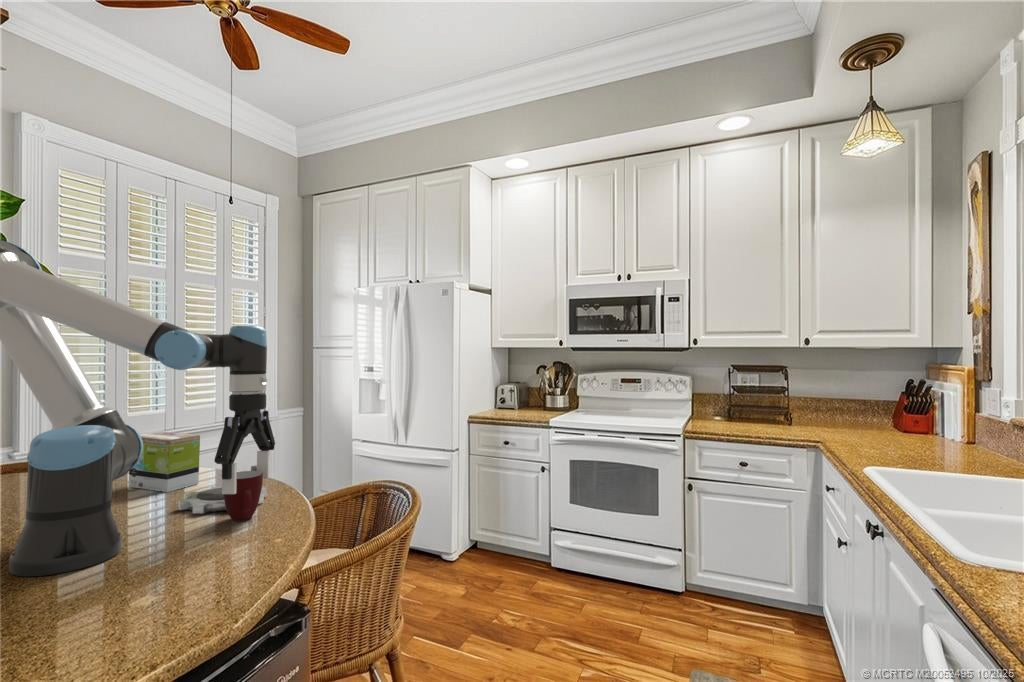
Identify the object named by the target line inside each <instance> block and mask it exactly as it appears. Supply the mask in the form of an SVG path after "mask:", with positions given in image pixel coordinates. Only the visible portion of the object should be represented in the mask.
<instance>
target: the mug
mask: <svg viewBox="0 0 1024 682" xmlns="http://www.w3.org/2000/svg"><path fill="white" fill-rule="evenodd" d="M263 483H264V478H263V473H262V472H259V471H251V470H244V471H237V480H236V494H224V500H225V506H226V510H227V511H226V510H225V511H226V512H227V514H228V516H229V517H230V519H231V520H232V521H233V522H242V521H243V522H244V521H248V520H250V519H252V517H253V516H254V514H255V512H256V510H257V509H258V507H259V504H260V503H259V499H260V494H261V490H262V487H263ZM258 503H259V504H258Z"/></svg>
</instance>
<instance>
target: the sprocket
mask: <svg viewBox="0 0 1024 682" xmlns="http://www.w3.org/2000/svg"><path fill="white" fill-rule="evenodd" d="M250 471H257V464H256V465H251V466H250ZM267 494H268V488H267V487H265V486H262V490H261V494H260V499H259V503H258V505H260V504H261V503H263V502H265V497H267ZM177 502H178V504H177V505H178V506H177V507H178V510H179V511H185V510H189V511H192V514H202V515H203V514H205V513H208V512H221V511H226V512H227V510H226V506H225V500H224V494H222V485H216V486H212V487H210V488H207V489H203V490H199V491H190V492H187V493H185V494H184V498H182V499H180V498H179V499H178V500H177Z"/></svg>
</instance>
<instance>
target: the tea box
mask: <svg viewBox="0 0 1024 682" xmlns="http://www.w3.org/2000/svg"><path fill="white" fill-rule="evenodd" d="M140 436H141V438H142V441H143V451H142V455H141V457H140V459H139V461H138V462H137V463H136V465H135V466H134V467H133V468H132V469H131V470H130V471H129V472H128V488H135V489H142V490H143V489H144V490H148V491H149V490H150V491H154V490H155V491H156V492H160V491H162V493H166V492H167V493H170V492H169V491H171V492H174V491H173V490H175V491H178V490H177V489H179V490H182V489H185V488H184V487H186V488H189V487H188V486H190V487H192V486H191V485H193V486H196V485H198V484H199V479H200V478H199V476H200V475H199V472H200V452H201V451H200V450H201V449H200V447H201V434H195V433H193V434H192V433H184V432H183V433H181V432H171V431H159V432H150V433H145V434H140ZM195 484H196V485H195ZM181 488H182V489H181Z"/></svg>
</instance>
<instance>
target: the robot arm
mask: <svg viewBox="0 0 1024 682" xmlns="http://www.w3.org/2000/svg"><path fill="white" fill-rule="evenodd" d="M55 322H56V323H58V324H61V325H63V326H66V327H69V328H71V329H74V330H77V331H79V332H82V333H83V334H84V333H85V334H87V335H90V336H93V337H94V338H97V339H100V340H103V341H106V342H108V343H111V344H114V345H116V346H118V347H121V348H123V349H127V350H129V351H132V352H134V353H136V354H140V355H143V356H145V357H147V358H150V359H152V360H155V361H158V362H160V364H162V365H164V366H165V367H167V368H170V369H173V370H177V371H184V370H191V369H201V368H202V369H204V368H206V369H207V368H208V369H209V368H229V385H228V388H229V389H228V392H229V393H230V395H229V396H228V397H229V399H228V401H229V402H228V403H229V404H228V405H229V406H228V408H229V410H230V411H232V412H234V416H226V417H225V418H224V423H223V425H224V426H223V430H222V432H221V433H222V434H221V436H220V440H219V443H218V447H217V449H216V450H217V451H216V453H215V456H214V459H213V460H214V463H216V464H217V465H221V486H222V494H236V480H237V472H238V469H237V468H238V467H237V466H238V465H237V464H238V462H235V460H236V458H237V456H238V454H239V452H240V449H241V446H242V444H243V443H244V440H245V438H246V437H248V435H251V437H252V438H253V440H254V442H255V444H256V447H258V449H259V450H258V451H256V465H257V471H259V472H262V473H263V479H269V478H270V459H271V458H270V456H271V455H270V453H271V452H270V451H274V450H275V445H276V441H275V437H274V434H273V430H272V426H271V422H270V420H269V419H270V418H269V416H270V415H269V413H270V412H269V410H265V409H266V408H267V394H266V393H265V391H266V390H267V382H268V378H267V365H268V364H267V360H268V358H267V356H268V345H267V331H266V328H264V327H262V326H260V325H259V326H258V325H234V326H233V325H232V326H231V327H230V329H229V330H230V331H229V333H225V334H212V333H211V334H208V333H205V334H203V333H196V332H193V331H191V330H187V329H184V328H182V327H180V326H177V325H176V324H172V323H171V322H170V323H169V322H167V321H165V320H163V319H160V318H158V317H155V316H153V315H150V314H148V313H146V312H143V311H141V310H138V309H136V308H133V307H131V306H128V305H126V304H124V303H121V302H119V301H117V300H114V299H111V298H109V297H106V296H104V295H102V294H99V293H97V292H95V291H92V290H90V289H87V288H84V287H82V286H80V285H77V284H75V283H72V282H70V281H68V280H65V279H62V278H60V277H59V276H56V275H53V274H50V273H49V272H45V271H43V269H42V267H41V264H40V262H39V261H38V260H37V259H36V258H35V257H34V255H32V254H31V253H29V252H28V251H27V250H25V249H23V248H22V247H20V246H19V245H17V244H14V243H12V242H8V241H7V240H6V241H5V240H2V239H0V342H1V344H2V345H3V347H4V349H5V350H6V352H7V353H8V356H9V357H10V358H11V360H12V362H13V363H14V365H15V366H16V368H17V370H18V371H19V373H20V374H21V376H22V378H23V380H24V381H25V383H26V385H27V387H29V389H30V390H31V393H32V394H33V396H34V398H35V399H36V401H37V403H38V405H40V407H41V409H42V410H43V412H44V414H45V415H46V417H47V419H48V421H50V424H51V427H52V428H51V430H50V429H49V430H47V431H44V432H42V433H39V434H38V435H35V436H34V437H33V438H32V440H31V442H30V444H29V451H28V453H27V456H26V459H27V460H26V461H27V478H26V479H27V482H26V501H25V505H26V506H25V522H24V526H23V528H22V530H21V532H20V535H19V537H18V539H17V543H16V545H15V547H14V548H15V549H14V550H13V551H12V552H11V553H10V556H9V560H8V573H9V574H11V575H13V576H18V577H40V576H41V577H42V576H43V577H44V576H51V575H56V574H57V575H58V574H63V573H68V572H73V571H76V570H81V569H84V568H87V567H91V566H94V565H97V564H100V563H103V562H104V561H107V560H110V559H111V558H113V557H115V556H117V554H118V555H119V553H120V552H121V551H122V543H123V540H122V538H123V537H122V535H121V533H120V532H119V531H118V526H117V522H116V520H115V517H114V514H113V510H112V503H113V502H112V499H113V482H114V481H115V480H117V479H119V478H121V477H124V476H125V475H127V474H129V471H130V470H131V469H132V468H133V467H134V466H135V465H136V463H137V462H138V461H139V459H140V457H141V455H142V451H143V441H142V438H141V436H140V435H141V434H140V433H139V432H138V431H137V429H136V428H134V427H132V426H130V424H129V425H128V424H126V423H125V421H124V420H123V418H122V416H121V415H120V413H119V412H118V409H116V408H114V407H109V406H106V405H105V404H103V402H102V401H101V398H100V397H99V396H98V394H97V392H96V391H95V389H94V387H93V385H92V384H91V381H90V380H89V379H88V377H87V374H85V371H84V370H83V368H82V367H81V365H80V364H79V361H78V360H77V359H76V357H75V355H74V354H73V351H72V350H71V348H70V346H69V345H68V344H67V341H66V340H65V337H64V336H63V335H62V333H61V331H60V330H59V328H58V325H56V323H55Z"/></svg>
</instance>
